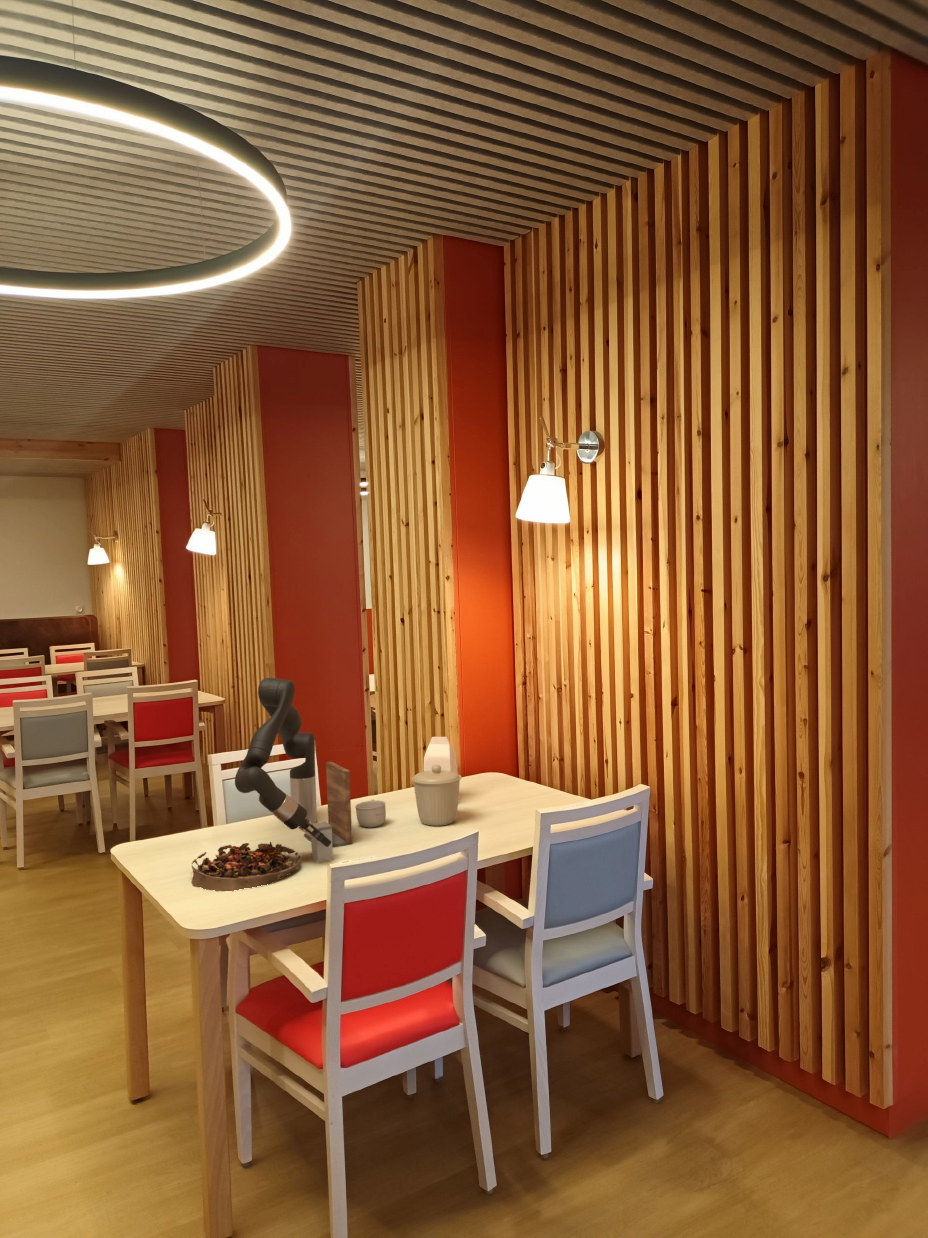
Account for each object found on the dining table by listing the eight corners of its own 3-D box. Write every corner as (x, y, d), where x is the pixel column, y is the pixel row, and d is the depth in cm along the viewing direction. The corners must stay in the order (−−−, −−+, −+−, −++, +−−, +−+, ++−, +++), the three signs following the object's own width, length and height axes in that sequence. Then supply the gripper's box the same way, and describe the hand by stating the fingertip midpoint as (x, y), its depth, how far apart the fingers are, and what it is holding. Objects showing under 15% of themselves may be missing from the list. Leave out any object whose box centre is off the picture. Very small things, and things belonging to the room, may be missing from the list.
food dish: (245, 853, 305) (245, 829, 304) (323, 868, 288) (323, 844, 288) (162, 881, 274) (162, 856, 274) (243, 901, 258) (243, 873, 257)
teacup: (381, 830, 322) (380, 807, 322) (352, 829, 324) (351, 807, 324) (392, 819, 336) (391, 798, 335) (364, 818, 338) (363, 797, 338)
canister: (470, 825, 325) (468, 767, 323) (421, 831, 318) (419, 772, 317) (453, 813, 342) (451, 757, 340) (407, 819, 335) (405, 762, 334)
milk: (423, 805, 354) (420, 739, 353) (430, 798, 365) (428, 734, 364) (453, 806, 351) (450, 740, 350) (459, 799, 362) (457, 734, 361)
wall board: (320, 849, 301) (318, 775, 300) (304, 836, 317) (301, 765, 316) (352, 844, 306) (349, 770, 305) (334, 831, 322) (331, 761, 321)
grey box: (317, 862, 288) (316, 828, 287) (311, 857, 293) (310, 824, 292) (332, 860, 290) (331, 826, 289) (326, 855, 295) (325, 821, 295)
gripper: (303, 806, 281) (340, 837, 287) (289, 797, 293) (325, 826, 299) (287, 826, 278) (324, 856, 284) (274, 816, 291) (310, 845, 297)
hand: (324, 841), depth 292 cm, fingers open, 8 cm apart
